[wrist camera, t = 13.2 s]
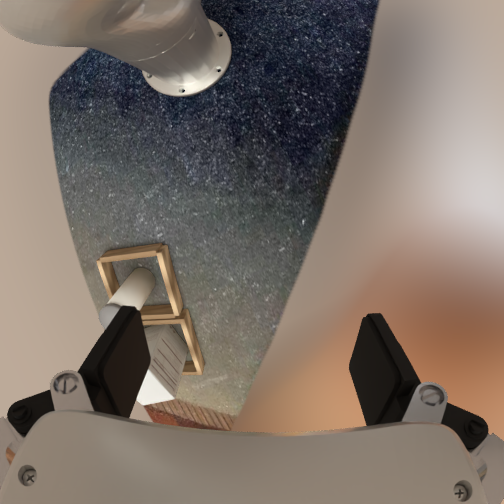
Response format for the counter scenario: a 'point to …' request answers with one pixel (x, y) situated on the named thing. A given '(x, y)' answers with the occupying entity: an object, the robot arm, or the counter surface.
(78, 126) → the counter surface
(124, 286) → the frosted tube
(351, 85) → the counter surface
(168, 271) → the oak rack
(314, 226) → the counter surface
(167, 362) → the supplement box
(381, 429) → the robot arm
